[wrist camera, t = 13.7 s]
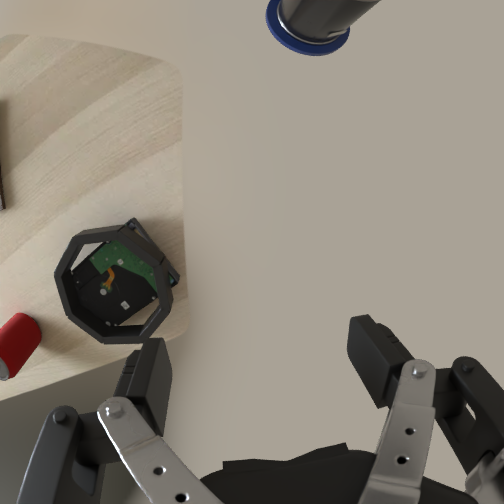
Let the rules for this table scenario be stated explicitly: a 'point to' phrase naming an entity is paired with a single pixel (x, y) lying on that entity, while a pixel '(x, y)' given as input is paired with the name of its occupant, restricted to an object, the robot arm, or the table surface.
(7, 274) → the table surface
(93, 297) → the disk drive
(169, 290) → the ring
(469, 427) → the robot arm
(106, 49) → the table surface
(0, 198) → the stand
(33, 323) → the beverage can
